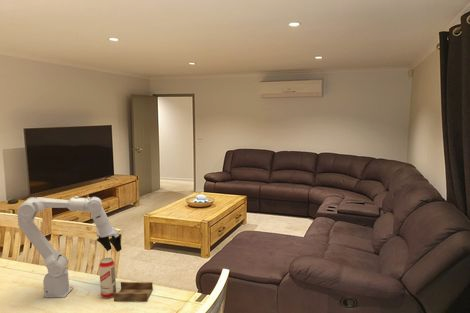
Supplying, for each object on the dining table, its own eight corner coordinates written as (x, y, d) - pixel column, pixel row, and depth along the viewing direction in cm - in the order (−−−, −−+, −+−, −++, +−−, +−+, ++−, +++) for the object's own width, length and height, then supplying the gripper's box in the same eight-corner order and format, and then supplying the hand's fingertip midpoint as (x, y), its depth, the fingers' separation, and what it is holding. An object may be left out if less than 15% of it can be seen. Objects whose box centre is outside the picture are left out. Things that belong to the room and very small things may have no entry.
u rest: (113, 301, 150) (113, 293, 149) (121, 289, 159) (121, 281, 159) (147, 301, 149) (146, 293, 149) (152, 289, 159) (152, 282, 158)
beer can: (111, 299, 151) (109, 264, 148) (98, 298, 152) (95, 262, 150) (119, 291, 157) (117, 257, 154) (106, 290, 158) (104, 256, 156)
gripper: (119, 218, 156) (131, 245, 159) (100, 219, 164) (112, 244, 167) (106, 227, 150) (118, 254, 153) (87, 227, 159) (99, 253, 162)
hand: (114, 250), depth 160 cm, fingers open, 7 cm apart
